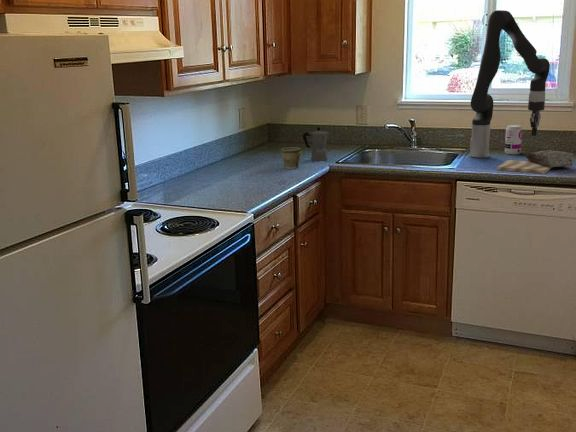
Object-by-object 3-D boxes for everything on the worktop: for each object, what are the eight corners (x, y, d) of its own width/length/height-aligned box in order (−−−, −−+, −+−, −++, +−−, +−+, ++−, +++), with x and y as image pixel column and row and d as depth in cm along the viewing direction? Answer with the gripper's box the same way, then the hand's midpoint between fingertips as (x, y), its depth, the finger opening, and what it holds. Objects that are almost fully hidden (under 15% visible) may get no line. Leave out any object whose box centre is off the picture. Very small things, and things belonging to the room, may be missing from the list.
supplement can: (521, 152, 346) (523, 125, 342) (518, 155, 339) (520, 127, 335) (506, 151, 350) (508, 124, 346) (503, 154, 343) (504, 126, 339)
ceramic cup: (277, 168, 322) (277, 149, 320) (288, 165, 330) (288, 146, 328) (299, 171, 315) (298, 151, 313) (309, 167, 323) (309, 148, 320)
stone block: (549, 146, 316) (573, 151, 297) (549, 159, 318) (574, 165, 299) (525, 150, 314) (548, 156, 295) (525, 164, 316) (549, 170, 297)
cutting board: (497, 169, 303) (497, 166, 303) (507, 162, 319) (508, 159, 319) (545, 173, 292) (545, 170, 291) (553, 166, 308) (554, 163, 307)
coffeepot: (329, 158, 348) (328, 125, 343) (333, 161, 339) (332, 127, 334) (301, 159, 345) (301, 127, 341) (305, 162, 336) (304, 129, 332)
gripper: (531, 98, 315) (529, 133, 320) (525, 101, 305) (523, 137, 309) (547, 99, 311) (544, 134, 316) (541, 101, 301) (539, 137, 305)
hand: (534, 135), depth 313 cm, fingers closed
